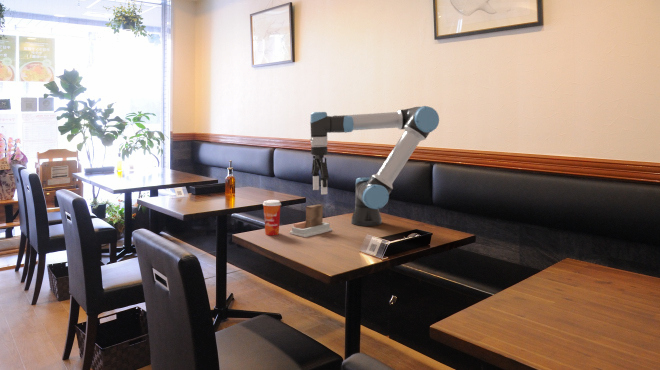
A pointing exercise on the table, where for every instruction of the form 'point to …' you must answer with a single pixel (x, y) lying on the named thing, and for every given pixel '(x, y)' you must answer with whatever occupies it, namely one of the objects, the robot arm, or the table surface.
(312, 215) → the brown rectangular block
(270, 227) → the coffee cup
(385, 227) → the table surface
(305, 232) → the white rectangular tray
